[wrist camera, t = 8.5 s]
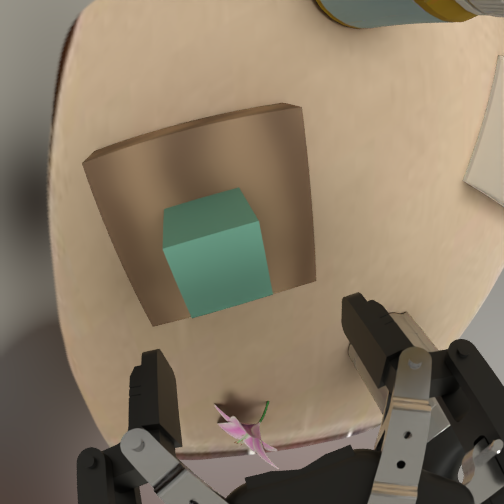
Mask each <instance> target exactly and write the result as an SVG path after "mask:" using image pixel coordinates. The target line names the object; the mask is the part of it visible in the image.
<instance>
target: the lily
mask: <svg viewBox="0 0 504 504" xmlns="http://www.w3.org/2000/svg"><path fill="white" fill-rule="evenodd" d="M268 404H269V401H267V404H266V407H265V410H264V413H263V415H262V417H261V419H260V420H259V422H258V423H257V424H246V423H240V422H239V421H238V420H237V418H236V417H234V416H232V417H231V418H230V417H228V416H227V415H226V414H225V413H223V412H222V411H221V410H220V409H219V408H218V407H217V406H216V405H215V404H214V405H215V407H216V409H217V410H218V411H219V413H220V414H221V415H222V416H223V417H224V418H225V420H226V421H228V422H229V423H217V424H218V425H219V426H220V427H221V428H222V429H223V430H224V431H225V432H227V433H228V434H229V435H231V436H232V437H234V438H236V439H239V442H240V441H241V440H243V441H244V443H245V444H246V445H247V446H248V447H249V448H250V449H251V450H253V451H256V452H257V454H258V455H259V456H260V457H261V458H262V459H263V460H265V461H266V462H267V463H269V464H270V465H272V466H274V467H275V468H277V469H279V468H278V467H277V466H276V465H274V464H273V463H272V462H271V460H270V459H269V458H268V457H267V455H266V453H265V452H264V449H263V447H262V445H261V442H260V440H261V435H260V429H259V425H260V423H261V421H262V420H263V418H264V416H265V413H266V410H267V407H268ZM261 441H262V440H261ZM239 442H238V441H237V444H238V443H239ZM235 443H236V442H235ZM262 444H263V446H264V448H265V449H266V450H268V451H277V449H275V448H273V447H271V446H269V445H268V444H266V443H264V442H263V441H262ZM241 445H242V443H241Z"/></svg>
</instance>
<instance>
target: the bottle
mask: <svg viewBox="0 0 504 504" xmlns="http://www.w3.org/2000/svg"><path fill="white" fill-rule="evenodd" d="M316 1H317V3H318V5H319V6H320V8H321V9H322V10H323V11H324V12H325V13H326V14H327V15H328V16H330V17H331V18H332V19H333V20H335V21H337V22H339V23H340V24H342V25H345V26H348V27H352V28H356V29H361V28H374V27H382V26H391V25H402V24H415V23H439V22H464V21H466V20H469V19H471V18H473V17H476V16H478V15H491V16H495V17H504V0H316Z"/></svg>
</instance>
